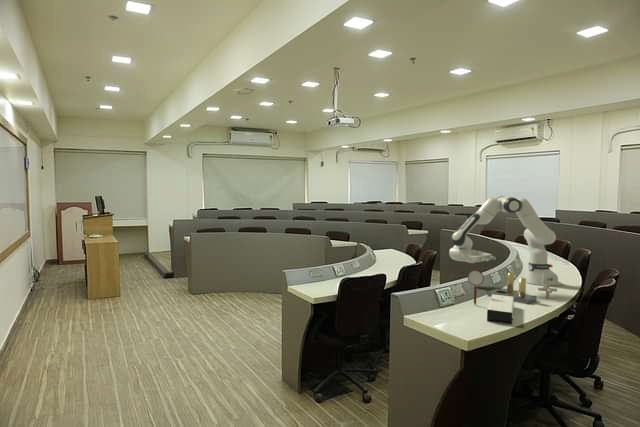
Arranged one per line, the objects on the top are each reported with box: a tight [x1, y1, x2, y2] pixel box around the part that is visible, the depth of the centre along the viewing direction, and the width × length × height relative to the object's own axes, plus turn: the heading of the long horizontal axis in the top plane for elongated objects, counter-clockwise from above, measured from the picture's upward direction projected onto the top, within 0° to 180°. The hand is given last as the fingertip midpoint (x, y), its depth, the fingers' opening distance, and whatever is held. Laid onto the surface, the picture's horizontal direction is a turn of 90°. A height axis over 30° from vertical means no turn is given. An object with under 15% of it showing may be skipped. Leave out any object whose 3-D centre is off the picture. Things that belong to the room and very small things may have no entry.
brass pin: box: [506, 271, 515, 292], centre depth 259 cm, size 4×4×13 cm
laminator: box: [486, 294, 516, 325], centre depth 215 cm, size 34×12×6 cm, turn 154°
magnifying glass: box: [467, 269, 485, 306], centre depth 230 cm, size 9×2×20 cm, turn 57°
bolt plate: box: [487, 277, 538, 305], centre depth 246 cm, size 24×12×13 cm, turn 42°
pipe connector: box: [537, 281, 558, 299], centre depth 248 cm, size 10×10×10 cm
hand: (492, 259), depth 267 cm, fingers open, 8 cm apart
